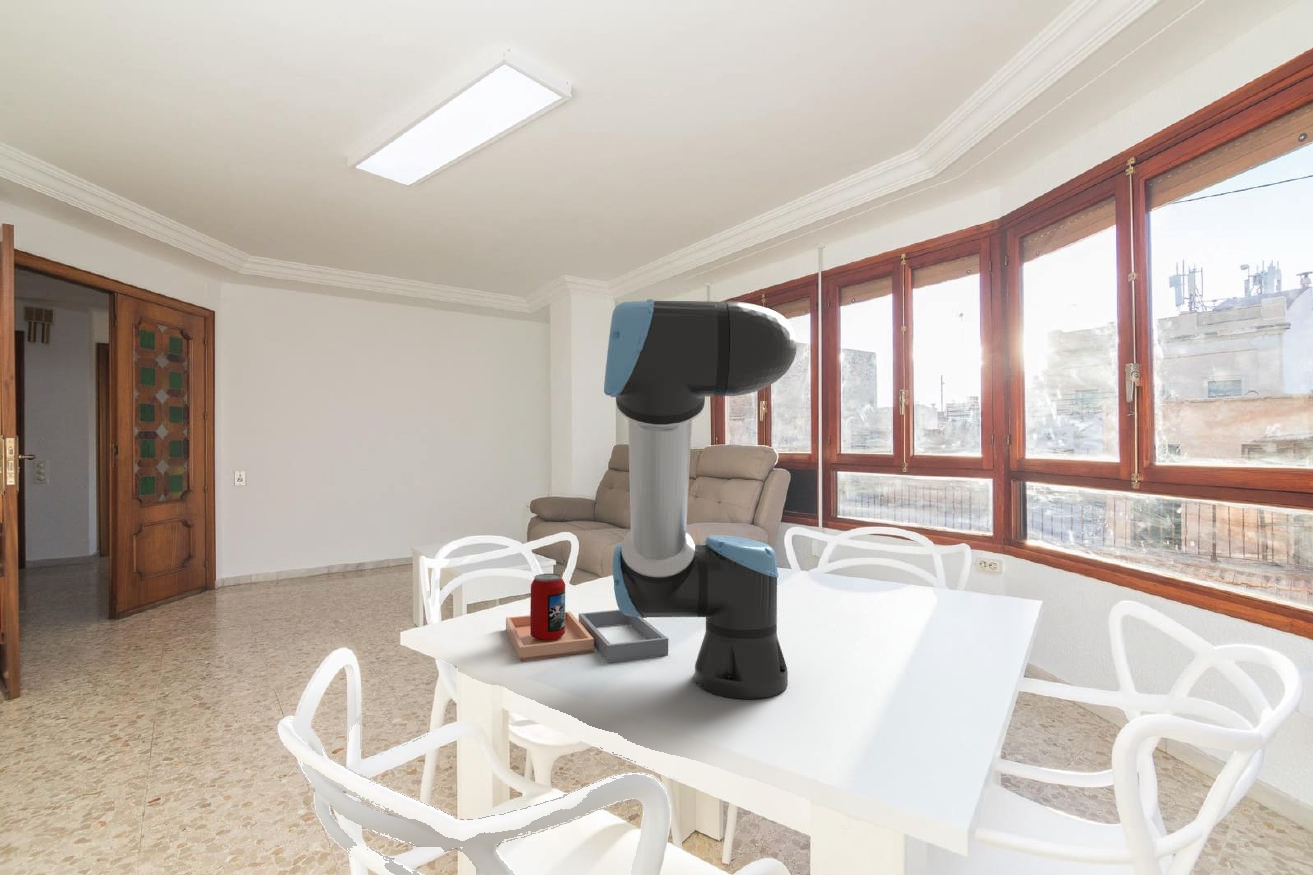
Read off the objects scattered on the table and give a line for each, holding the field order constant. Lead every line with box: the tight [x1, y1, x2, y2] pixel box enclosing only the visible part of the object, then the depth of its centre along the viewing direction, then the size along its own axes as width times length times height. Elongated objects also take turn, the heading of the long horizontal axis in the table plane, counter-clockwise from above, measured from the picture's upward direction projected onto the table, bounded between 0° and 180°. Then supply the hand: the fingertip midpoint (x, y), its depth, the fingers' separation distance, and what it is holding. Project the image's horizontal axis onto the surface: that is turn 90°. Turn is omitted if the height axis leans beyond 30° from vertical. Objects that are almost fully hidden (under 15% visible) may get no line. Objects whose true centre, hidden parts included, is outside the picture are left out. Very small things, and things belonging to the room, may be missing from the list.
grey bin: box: [578, 609, 669, 664], centre depth 119 cm, size 22×12×3 cm, turn 21°
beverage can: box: [529, 572, 566, 641], centre depth 119 cm, size 7×7×12 cm
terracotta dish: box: [505, 611, 595, 662], centre depth 119 cm, size 20×14×2 cm
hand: (659, 493), depth 121 cm, fingers open, 13 cm apart
